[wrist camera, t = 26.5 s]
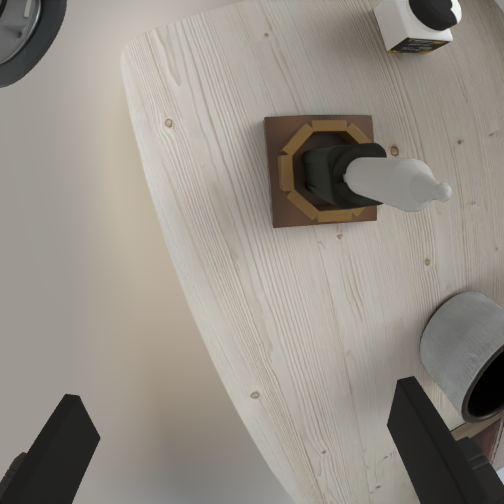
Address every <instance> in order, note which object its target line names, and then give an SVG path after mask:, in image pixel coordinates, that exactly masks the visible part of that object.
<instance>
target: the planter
mask: <svg viewBox="0 0 504 504" xmlns="http://www.w3.org/2000/svg"><path fill="white" fill-rule="evenodd" d="M420 359H421V362H422V364H423V366H424V367H425V369H426V370H427V372H428V373H429V374H430V376H431V377H432V378H433V379H434V381H435V382H436V383H437V385H438V386H439V387H440V389H441V390H442V391H443V393H444V394H445V395H446V397H447V398H448V399H449V401H450V402H451V403H452V405H453V406H454V407H455V409H456V410H457V412H458V413H459V415H460V416H461V417H462V419H463V420H464V421H465V422H467V423H470V424H478V423H482V422H485V421H487V420H489V419H491V418H493V417H495V416H497V415H498V414H500V413H501V412H502V411H504V309H503V308H501V307H500V306H499V305H497V304H496V303H495V302H493V301H492V300H491V299H489V298H488V297H486V296H485V295H483V294H481V293H479V292H474V291H468V292H464V293H461V294H458V295H456V296H454V297H453V298H451V299H450V300H448V301H447V302H446V303H444V304H443V305H442V306H441V307H440V308H439V309H438V310H437V311H436V313H435V314H434V315H433V317H432V318H431V319H430V321H429V323H428V324H427V326H426V328H425V330H424V333H423V335H422V338H421V342H420Z"/></svg>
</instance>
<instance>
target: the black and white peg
mask: <svg viewBox="0 0 504 504" xmlns="http://www.w3.org/2000/svg"><path fill="white" fill-rule="evenodd" d="M301 162H302V163H303V164H304V171H305V178H306V183H305V187H306V189H307V190H308V191H309V192H311V193H313V194H315V195H317V196H318V197H320V198H322V199H324V200H326V201H328V202H330V203H331V204H333V205H335V206H337V207H339V208H340V209H354V208H361V207H369V206H376V205H381V204H383V203H385V204H388V205H390V206H393V207H396V208H398V209H401V210H404V211H407V212H417V211H420V210H422V209H424V208H425V207H427V205H428V204H429V203H430V202H431V201H433V200H436V199H439V200H440V201H444V202H445V201H447V200H449V199H450V197H451V193H452V191H451V188H450V186H449V185H448V184H446V183H439V182H438V181H437V180H435V179H434V176H433V174H432V172H431V170H430V169H429V167H428V166H427V165H426V164H425V163H423V162H422V161H420V160H417V159H411V158H387V156H386V152H385V150H384V149H383V147H382V146H380V145H379V144H377V143H361V144H350V145H339V146H333V147H326V148H320V149H314V150H309V151H306V152H305V153H304V154H303V155H302V159H301Z"/></svg>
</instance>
